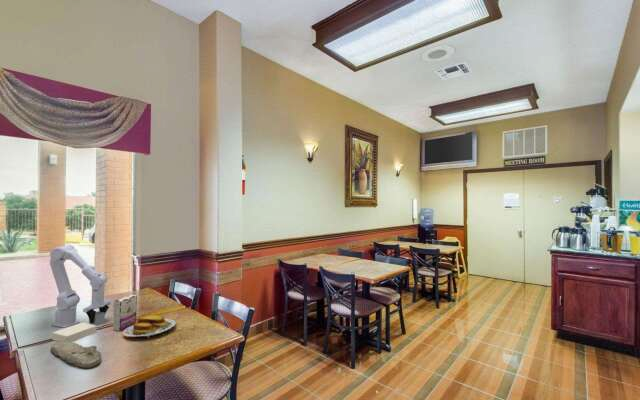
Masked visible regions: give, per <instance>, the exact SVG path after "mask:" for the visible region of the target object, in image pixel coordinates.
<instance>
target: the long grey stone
mask: <svg viewBox="0 0 640 400" xmlns="http://www.w3.org/2000/svg"><path fill="white" fill-rule="evenodd" d="M50 350H51V352H52V353H53V354H54V355H55V356H57V357H59V358H60V359H61V360H62V361H65V362H67V363H68V364H70V365H74V366H76V367H77V368H82V369H83V368H85V369H87V368H88V369H89V368H92V367H96V366H97V365H98V364H100V362H101V360H102V353H101V352H100V351H99V350H97V346H96V345H91V346H85V347H84V346H83V345H81V344H79V343H76V342H75V341H73V342H70V341H69V340H68V341H67V340H63V341H55V342H54V343H53V344H52V345H51V347H50Z"/></svg>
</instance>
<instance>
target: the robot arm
mask: <svg viewBox="0 0 640 400" xmlns="http://www.w3.org/2000/svg"><path fill="white" fill-rule="evenodd" d="M49 255H50V259H49V265H50V269H51V271H52V275H53V278H54V282H55V284H56V288H57V292H58V295H57V297H56V308H57V310H56V311H55V312H54V313H55V314H54V323H53V324H52V326H55V327H60V328H63V329H64V328H67V327H70V326H73V325H76V324H79V323H81V321H80V320H77V306H78V304H79V303H80V301H81V298H80V296H79V295H78V293H77V292H76V291H75V290H73V289H72V287H71V286H72V285H71V283H70V279H69V277H68V272H67V270H66V267H65V262H66V261H67V260H68V261H69V260H70V261H72V262H73V263H74V264H75V265H77V267H78V268H79V269H81V274H82V275H83V276H84V277H85V278H86V279H87V280H88V281H89V285H90V286H91V304H90V305H89V306H87V307H84V308H82V312H83V313H84V314H86V315H87V317H88V320H90V323H94V319H95V314H96V312H97V311H96V309H98V310H99V311H100V312H105V315H106V313H107V312H108V309H109V308H110V306H109V305H112V301H111V300H106V301H105V289H106V288H105V286H106V285H105V284H106V283H107V281H108V278H107V276H106V274H102V273H101V272H99V271H98V270H97V269H96V266H94V265H91V264H90V265H89V264H88V263H87V261H85V260H84V259H83V257H82V256H81V254H79V252H78V250H77V249H76V248H75V246H73V245H71V244H66V245H63V246H62V245H61V246H57V247H53V248H52V250H50V252H49Z"/></svg>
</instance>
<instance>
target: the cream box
mask: <svg viewBox="0 0 640 400" xmlns="http://www.w3.org/2000/svg"><path fill="white" fill-rule="evenodd" d="M97 327H98V325H97V326H96V325H92V324H89V323H88V322H87V323H86V322H80V323H77V324H74V325H71V326H68V327H65V328H64V327H63V328H62V329H59V330H57V331H53V332H51V340H52V341H55V342H58V341H63V340H67V341H68V340H69V341H70V342H72V341H73V342H76V341H78V340H80V339H83V338H86V337H87V336H88V337H89V336H90V335H94V334H96V333H97V331H98V330H97ZM77 339H78V340H77Z"/></svg>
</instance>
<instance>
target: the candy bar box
mask: <svg viewBox="0 0 640 400" xmlns="http://www.w3.org/2000/svg"><path fill="white" fill-rule="evenodd" d="M137 298H138V295H137V294H128V295H126V296H122V297H119V298H117V299H114V300H113V310H112V311H113V312H112V313H113V314H112V315H113V316H112V322H113V323H112V331H116V332H117V331H118V332H122V331H124V330H125V329H126V328H128V327H130V326H132V325H134V323H135V322H137V309H138V308H137V307H138V305H137V304H138V303H137V302H138V300H137ZM126 330H127V329H126Z"/></svg>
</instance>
